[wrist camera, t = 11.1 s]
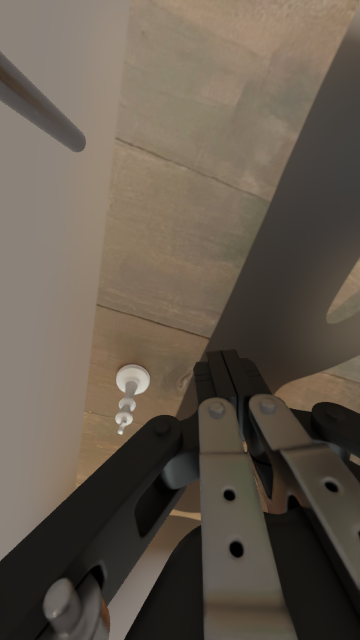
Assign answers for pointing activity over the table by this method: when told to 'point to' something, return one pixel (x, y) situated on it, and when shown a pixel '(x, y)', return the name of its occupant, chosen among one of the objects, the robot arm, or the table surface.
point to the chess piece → (130, 391)
